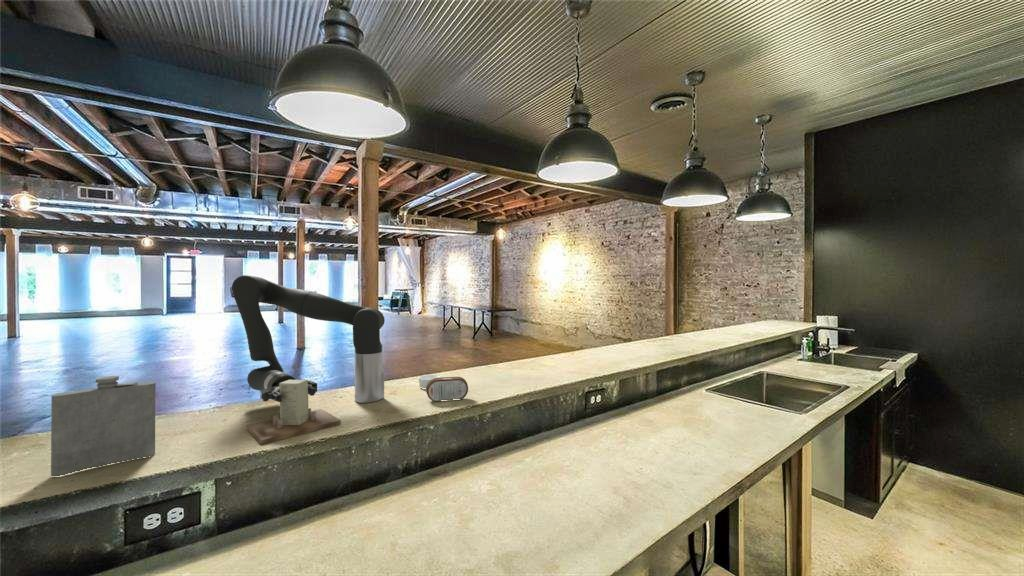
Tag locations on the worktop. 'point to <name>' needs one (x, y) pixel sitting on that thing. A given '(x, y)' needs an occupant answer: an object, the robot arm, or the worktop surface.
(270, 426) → the pin tray
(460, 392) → the tin
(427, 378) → the ramekin
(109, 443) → the hip flask
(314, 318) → the robot arm
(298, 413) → the skincare box
